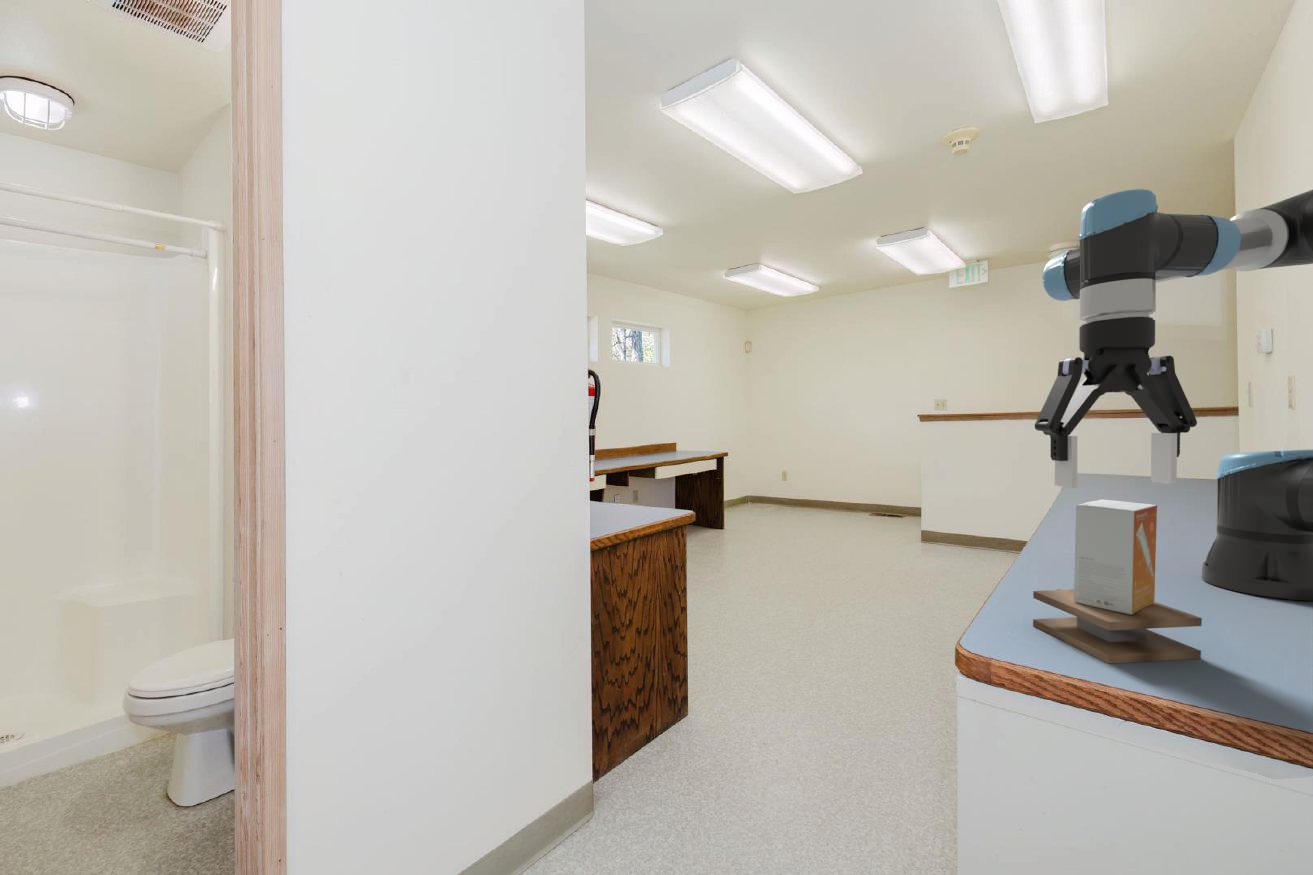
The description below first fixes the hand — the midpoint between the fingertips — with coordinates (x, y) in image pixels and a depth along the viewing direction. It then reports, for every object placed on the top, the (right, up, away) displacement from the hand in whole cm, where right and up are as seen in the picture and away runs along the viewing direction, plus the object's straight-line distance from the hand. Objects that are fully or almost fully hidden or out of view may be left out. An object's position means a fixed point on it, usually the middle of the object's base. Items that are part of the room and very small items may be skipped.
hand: (1115, 485), depth 73 cm
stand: (0, -21, +1) cm, 21 cm away
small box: (0, -16, +1) cm, 16 cm away
